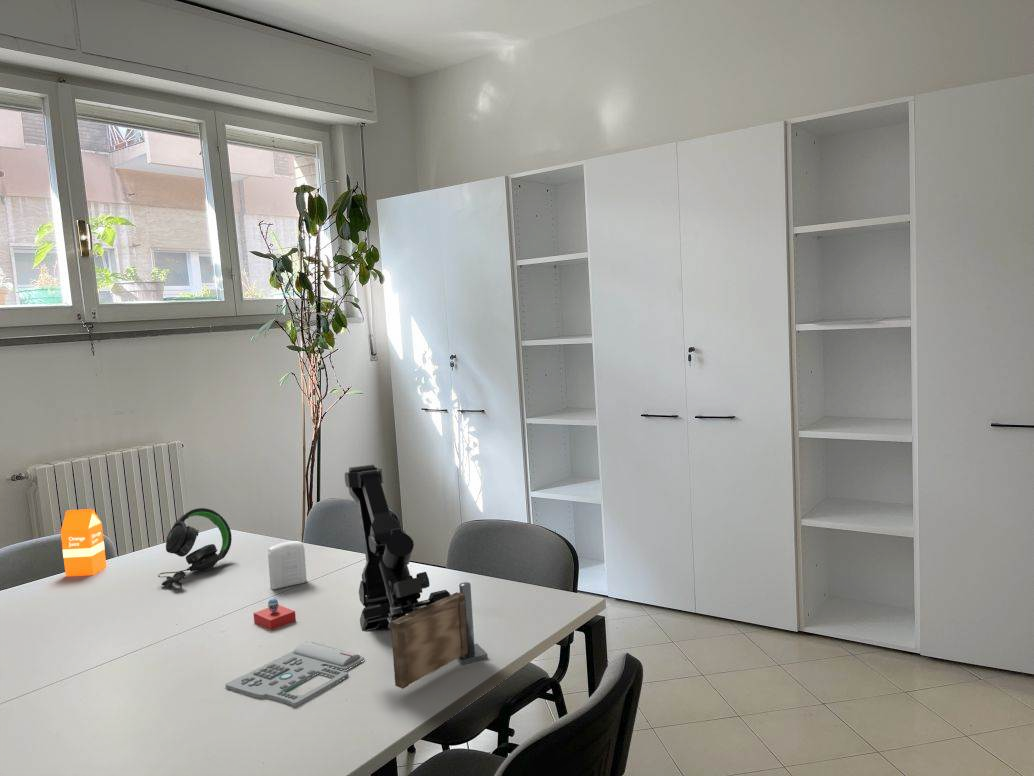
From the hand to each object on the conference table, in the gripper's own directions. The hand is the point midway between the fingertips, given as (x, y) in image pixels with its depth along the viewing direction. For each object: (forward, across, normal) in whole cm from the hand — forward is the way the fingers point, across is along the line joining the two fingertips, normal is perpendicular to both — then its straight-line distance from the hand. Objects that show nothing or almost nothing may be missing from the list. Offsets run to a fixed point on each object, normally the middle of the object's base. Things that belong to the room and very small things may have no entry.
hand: (417, 648), depth 155 cm
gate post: (+2, +13, +8) cm, 15 cm away
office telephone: (-6, -21, +16) cm, 27 cm away
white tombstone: (-49, -14, +59) cm, 78 cm away
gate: (+4, +3, +4) cm, 6 cm away
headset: (-68, -36, +78) cm, 110 cm away
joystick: (-30, -22, +40) cm, 54 cm away
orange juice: (-85, -68, +95) cm, 145 cm away
